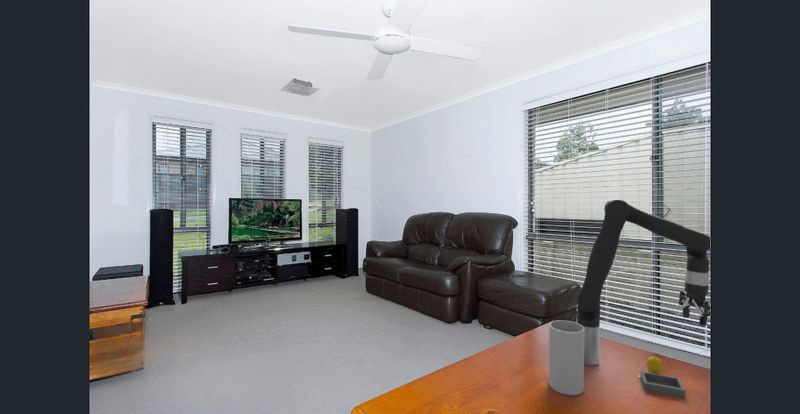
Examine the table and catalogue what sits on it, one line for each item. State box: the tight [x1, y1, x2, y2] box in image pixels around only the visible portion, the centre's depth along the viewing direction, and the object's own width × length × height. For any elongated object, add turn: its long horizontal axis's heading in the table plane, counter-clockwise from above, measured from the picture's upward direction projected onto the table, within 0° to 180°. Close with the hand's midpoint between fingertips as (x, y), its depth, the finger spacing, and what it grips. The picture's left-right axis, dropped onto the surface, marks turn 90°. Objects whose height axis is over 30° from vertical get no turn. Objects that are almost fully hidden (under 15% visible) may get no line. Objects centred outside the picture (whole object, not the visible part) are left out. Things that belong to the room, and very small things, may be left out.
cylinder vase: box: [548, 320, 585, 397], centre depth 147 cm, size 12×12×25 cm
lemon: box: [646, 356, 664, 375], centre depth 156 cm, size 6×6×8 cm
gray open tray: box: [639, 371, 686, 399], centre depth 146 cm, size 13×10×3 cm
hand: (694, 321), depth 151 cm, fingers open, 8 cm apart
